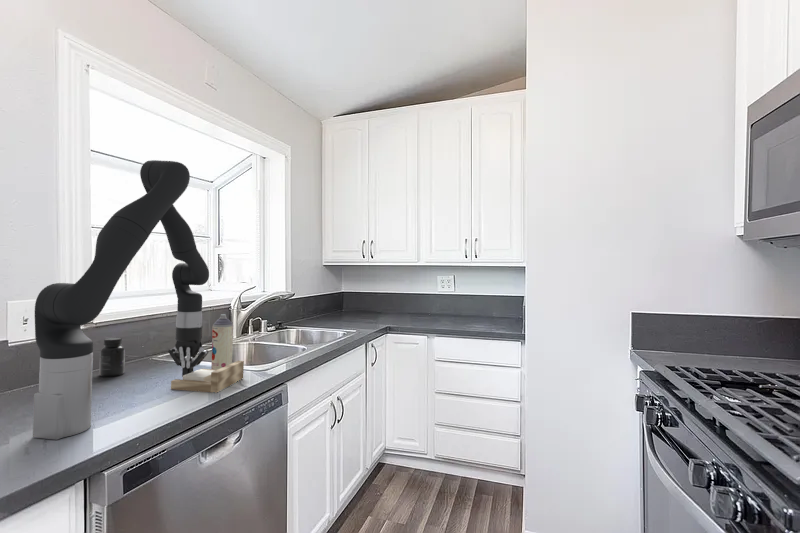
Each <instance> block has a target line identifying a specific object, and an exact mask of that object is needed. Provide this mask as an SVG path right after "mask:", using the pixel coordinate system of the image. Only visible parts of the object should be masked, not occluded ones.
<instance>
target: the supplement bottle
mask: <svg viewBox="0 0 800 533" xmlns="http://www.w3.org/2000/svg"><path fill="white" fill-rule="evenodd" d="M122 339H123V338H122V337H109V338H104V339H103V340H104V341H103V347H102V348H101V349H100V351H99V371H98V372H99V376H100V377H103V378H104V377H105V378H110V377H117V376H120V375H121V376H122V375H123V374H124V373H125V363H126V362H125V358H126V350H125V349H126V348H125V347H124V346H123V344H122V343H123V340H122Z"/></svg>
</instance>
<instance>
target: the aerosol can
mask: <svg viewBox="0 0 800 533" xmlns="http://www.w3.org/2000/svg"><path fill="white" fill-rule="evenodd" d="M211 332H212V333H211V334H212V339H211V340H212V341H211V369H215V370H218V369H220V368H223V367H225V366H227V365H229V364H232V363H233V346H234V343H233V342H234V340H233V339H234V324H233V322H232V321H231V320H230V319H229V318H228V317H227V314H226V313H225V314H224V313H223V314H222V313H221V314H220V317H219V318H218V319H216V321H215V322H213V323H212V331H211Z"/></svg>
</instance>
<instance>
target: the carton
mask: <svg viewBox="0 0 800 533" xmlns="http://www.w3.org/2000/svg"><path fill="white" fill-rule="evenodd" d="M204 369H205V368H200V369H197V370H193V372H191V373H189V374H186V375H183V377H182V380H193V381H206V382H211V372H213V371H216V370H204Z"/></svg>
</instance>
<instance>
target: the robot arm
mask: <svg viewBox="0 0 800 533" xmlns="http://www.w3.org/2000/svg"><path fill="white" fill-rule="evenodd" d="M139 172H140V173H139V174H140V180H141V184H142V186H143V189H144V190H145V192H146V194H144V195H143V196H142V195H141V197H139V198H138V199H136V200H133V201H131V202H130V203H128V204H127V205H124V206H123V207H121V208H120V209H119V210H118V211H115V213H114V214H112V216H111V217H110V218H109V219H108V220H107V222H106V223H105V225H104V226H103V227H102V228H101V229H100V231H99V232H98V235H97V237H96V242H95V253H94V259H93V261H92V263H91V264H90V266H89V267H88V268H87V270H86V271H85V272H84V274H83V275H82V276H81V277H80V278H79V279H78V280H77V281H76V282H75V283H68V282H66V283H65V282H56V283H55V282H54V283H52V284H51V283H50V284H49V285H47V286H45V287H44V288H42V290H41V291H40V292H39V293H38V295H37V297H36V300H35V304H34V335H35V337H34V338H35V342H36V345H37V348H38V349H39V375H38V376H39V377H38V381H39V382H38V391H37V392H36V393H34V394H33V415H32V417H33V418H32V419H33V420H32V438H36V439H37V438H38V439H47V440H48V439H49V440H55V441H56V440H60V439H62V438H66V437H70V436H76V435H78V434H80V433H83V432H86V431H87V430H89V429H90V428H91V426H92V397H93V396H92V391H93V365H94V364H93V363H94V362H93V361H94V341H93V340H92V339H91V338H89V337H88V336H87V335H86V334H85V333H84V332H83V330H82V328H81V326H83V325H86V324H89V323H91V322H93V321H95V319H96V318H97V317H98V316H99V315H100V313H101V312H102V311H103V309H104V307H105V306H106V303H107V302H108V300H109V299H110V297H111V295H112V293H113V291H114V289H115V288H116V285H117V284H118V282H119V280H120V278H121V277H122V276H123V274H124V273H125V271H126V269H127V268H128V266H129V265H130V263H132V260H133V259H134V257H135V256H136V255H137V254H138V252H140V250H141V249H142V247H143V246H144V245H145V242H146V241H147V240H148V238H149V237H150V235H151V234H152V231H153V230H154V229H155V228H156V226H157V225H158V224H159V222H160V223H161V224H162V227H163V229H164V232H165V235H166V238H167V241H168V246H169V247H170V248H169V249H170V251H171V254H172V256H173V258H174V259H175V260H178V261H181V262H179V263H177V264H176V265H175V266H174V267H173V269H172V272H171V278H172V283H173V285H174V289H175V290H174V291H175V294H176V298H177V306H176V307H177V308H176V309H177V311H176V312H177V313H176V318H175V340H176V342H175V344H174V346H173V348H170V349H168V354H169V355H170V357H171V359H172V360H173V361H174V363H175V364H176V366H179V367H181V368H182V369H181V370H182V374H181V375H182V377H181V378H183V375H186V374H189V373H191V372H194V367H196V366H199V365H200V364H201V363H202V362H203V361H204V359H205V358H206V356H207V355H208V354H209V350H208V349H206V350H205V349H204V348H203V344H202V339H203V295H202V294H201V293H200V292H196V291H193V290H192V288H191V286H203V285H205V284H206V283H207V282H208V281H209V278H210V270H209V268H208V267H209V266H208V265H207V263H206V262H205V260H204V258H203V257H202V255H201V253H200V252H199V250H198V248H197V244H196V241H195V238H194V233H193V231H192V228H191V227H190V225H189V224H188V222H187V221H186V220H185V219H184V217H183V216H182V215H181V214H180V212H179V210H177V208H176V207H175V205H174V204H175V203H176V202H177V201H178V199H180V197H181V196H183V194H184V193H185V191H186V190H187V188H188V186H189V184H190V179H191V175H190V170H189V168H188V167H187V166H186V165H185V164H183V163H182V162H179V161H176V160H175V161H174V160H159V159H158V160H157V159H156V160H155V159H153V160H152V159H151V160H146V161H145V162H144V163H143V164H142V165H141V167H140V171H139Z"/></svg>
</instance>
